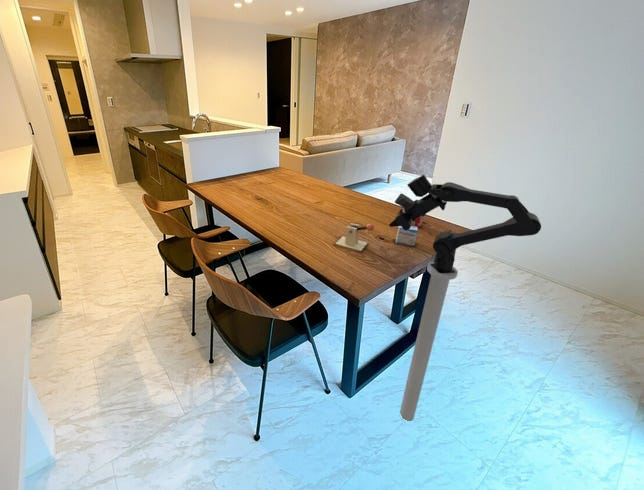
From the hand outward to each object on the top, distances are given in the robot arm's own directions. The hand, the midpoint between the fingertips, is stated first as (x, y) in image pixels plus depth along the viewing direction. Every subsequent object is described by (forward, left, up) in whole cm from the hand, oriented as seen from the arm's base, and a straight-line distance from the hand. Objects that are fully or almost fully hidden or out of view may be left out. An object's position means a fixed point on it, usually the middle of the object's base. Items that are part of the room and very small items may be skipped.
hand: (389, 225), depth 123 cm
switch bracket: (+9, +12, -14) cm, 20 cm away
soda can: (+26, -27, -14) cm, 40 cm away
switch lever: (+7, +8, -6) cm, 12 cm away
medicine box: (+8, -13, -14) cm, 21 cm away
